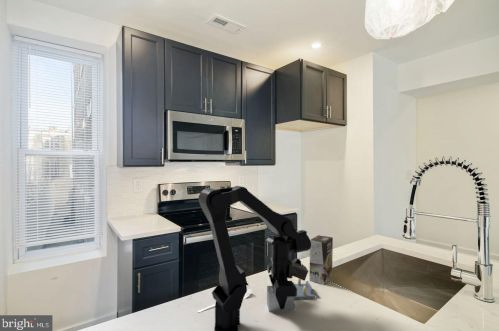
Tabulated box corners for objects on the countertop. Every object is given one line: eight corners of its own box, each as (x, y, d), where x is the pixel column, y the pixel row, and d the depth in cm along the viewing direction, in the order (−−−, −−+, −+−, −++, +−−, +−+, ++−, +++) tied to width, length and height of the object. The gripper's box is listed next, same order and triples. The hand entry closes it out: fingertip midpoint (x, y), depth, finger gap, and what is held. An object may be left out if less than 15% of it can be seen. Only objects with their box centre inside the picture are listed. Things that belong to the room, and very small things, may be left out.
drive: (269, 312, 79) (269, 292, 79) (267, 304, 83) (267, 285, 83) (294, 311, 79) (294, 291, 79) (291, 303, 84) (291, 285, 84)
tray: (280, 299, 86) (281, 288, 86) (276, 286, 95) (276, 276, 95) (315, 298, 87) (315, 287, 87) (308, 285, 96) (308, 275, 96)
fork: (195, 312, 80) (195, 306, 80) (248, 292, 91) (248, 287, 91) (199, 317, 77) (199, 311, 77) (253, 296, 88) (253, 291, 88)
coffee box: (324, 285, 96) (325, 242, 96) (308, 280, 100) (309, 239, 100) (333, 276, 103) (333, 237, 103) (317, 272, 107) (318, 234, 107)
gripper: (314, 267, 72) (314, 321, 72) (298, 245, 91) (297, 288, 91) (276, 267, 72) (275, 322, 72) (267, 246, 90) (266, 289, 90)
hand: (280, 304), depth 81 cm, fingers open, 5 cm apart
